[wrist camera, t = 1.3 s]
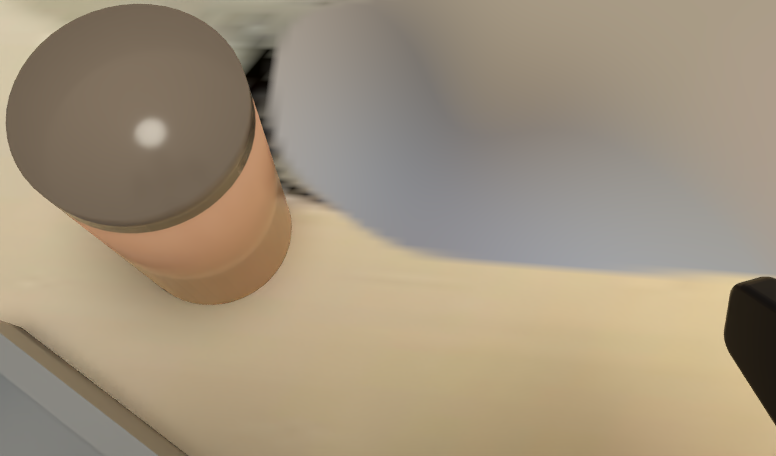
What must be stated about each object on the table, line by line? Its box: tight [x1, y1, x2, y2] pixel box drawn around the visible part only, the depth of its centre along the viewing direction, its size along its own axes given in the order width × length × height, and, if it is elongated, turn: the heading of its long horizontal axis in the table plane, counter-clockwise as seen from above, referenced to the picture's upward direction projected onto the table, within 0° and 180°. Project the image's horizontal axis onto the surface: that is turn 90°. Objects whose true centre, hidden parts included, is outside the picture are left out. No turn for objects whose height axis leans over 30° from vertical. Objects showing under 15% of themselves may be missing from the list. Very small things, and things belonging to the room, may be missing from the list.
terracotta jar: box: [6, 4, 292, 305], centre depth 19 cm, size 5×5×9 cm
